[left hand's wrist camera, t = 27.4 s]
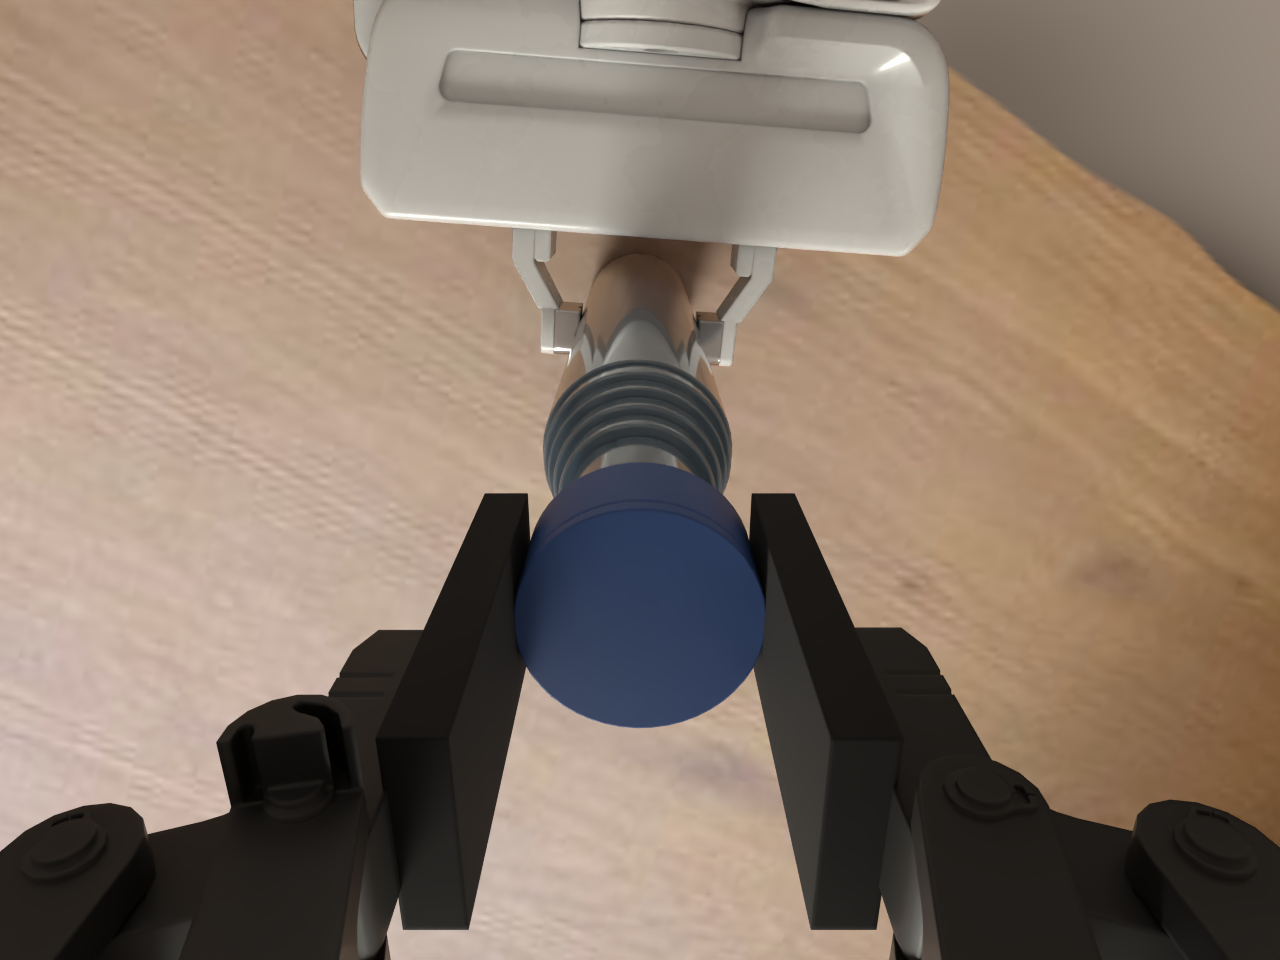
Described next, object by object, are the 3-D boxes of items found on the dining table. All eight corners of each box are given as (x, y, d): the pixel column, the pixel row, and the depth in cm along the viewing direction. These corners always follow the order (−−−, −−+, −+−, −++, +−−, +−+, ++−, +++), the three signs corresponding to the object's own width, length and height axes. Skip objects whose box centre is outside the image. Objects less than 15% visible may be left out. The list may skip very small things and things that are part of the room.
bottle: (623, 232, 37) (595, 391, 13) (706, 288, 38) (817, 528, 14) (570, 318, 39) (462, 596, 15) (652, 369, 39) (672, 708, 16)
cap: (692, 687, 16) (699, 760, 14) (496, 612, 15) (476, 678, 13) (790, 513, 15) (813, 568, 13) (580, 424, 14) (571, 467, 12)
